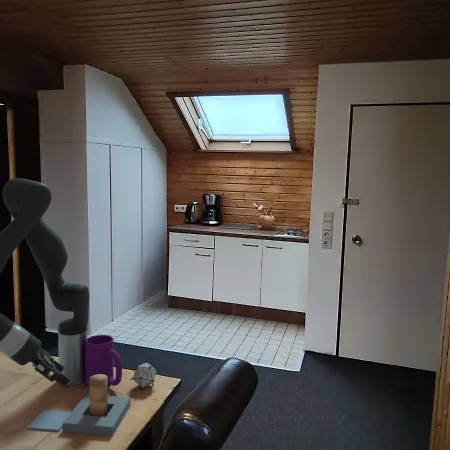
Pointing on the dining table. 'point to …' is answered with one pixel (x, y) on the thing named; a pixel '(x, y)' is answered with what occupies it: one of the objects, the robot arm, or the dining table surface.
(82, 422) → the board
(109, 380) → the mug
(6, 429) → the dining table surface
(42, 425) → the pad
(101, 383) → the peg
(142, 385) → the game die
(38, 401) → the dining table surface
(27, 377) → the dining table surface
